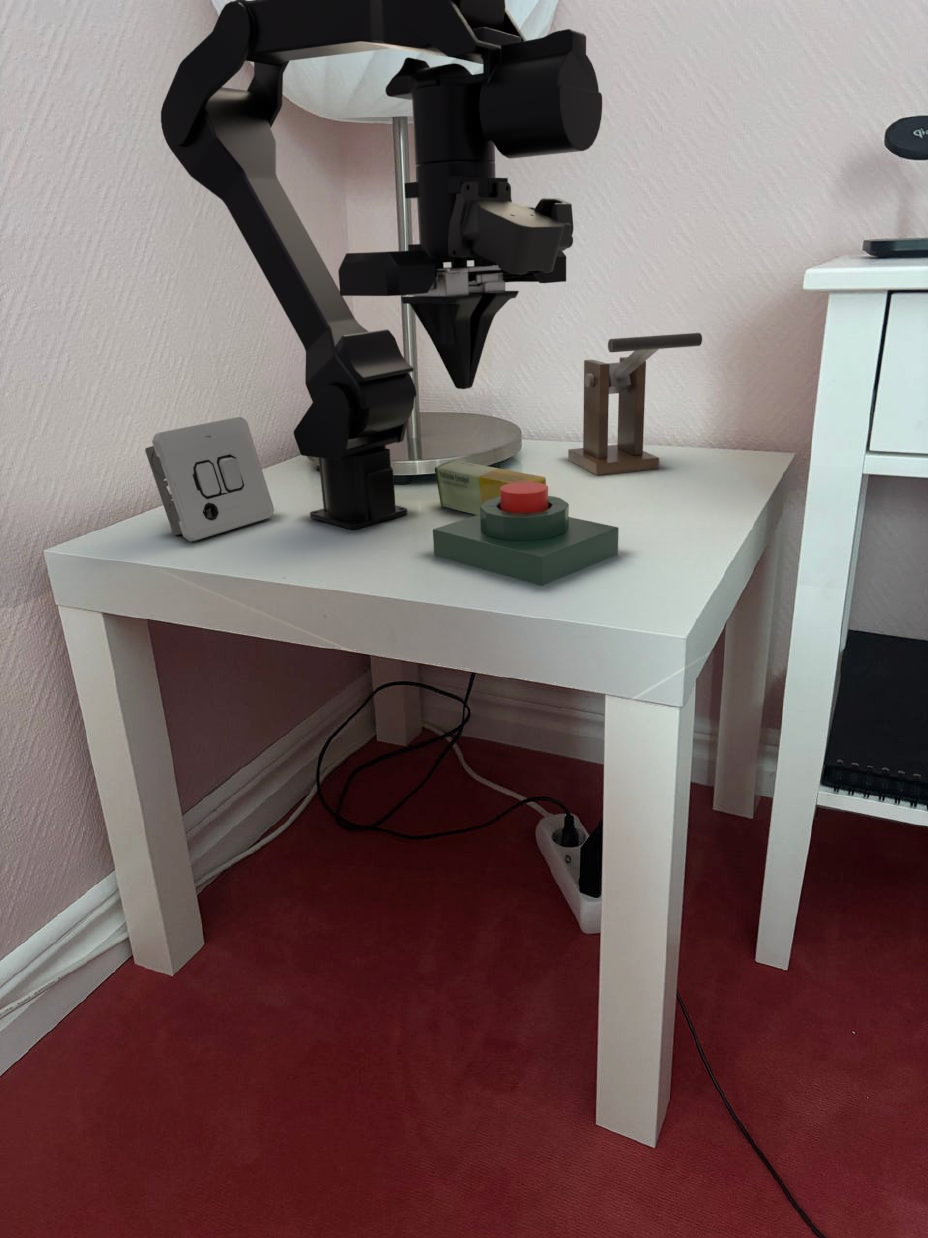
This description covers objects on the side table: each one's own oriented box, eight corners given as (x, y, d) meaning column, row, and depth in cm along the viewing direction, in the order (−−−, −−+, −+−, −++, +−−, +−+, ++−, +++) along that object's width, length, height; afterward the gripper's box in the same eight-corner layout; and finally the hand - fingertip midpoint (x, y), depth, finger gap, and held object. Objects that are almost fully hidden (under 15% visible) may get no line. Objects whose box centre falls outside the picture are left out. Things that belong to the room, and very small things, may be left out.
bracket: (659, 468, 94) (663, 362, 90) (596, 475, 93) (598, 366, 89) (626, 454, 102) (629, 354, 97) (568, 460, 100) (568, 358, 96)
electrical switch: (191, 545, 76) (166, 433, 73) (156, 541, 79) (132, 434, 76) (277, 518, 82) (258, 415, 80) (242, 516, 86) (223, 416, 83)
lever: (704, 349, 84) (700, 324, 85) (614, 356, 82) (610, 330, 82) (650, 390, 96) (646, 368, 96) (570, 397, 94) (567, 374, 94)
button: (490, 511, 68) (490, 488, 68) (522, 501, 71) (521, 479, 70) (526, 519, 66) (526, 496, 65) (558, 508, 68) (558, 486, 68)
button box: (433, 556, 71) (430, 506, 69) (511, 529, 76) (510, 482, 75) (541, 586, 63) (541, 531, 62) (618, 554, 69) (619, 503, 68)
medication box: (438, 508, 84) (431, 466, 82) (460, 499, 85) (454, 458, 84) (530, 530, 75) (525, 484, 73) (552, 520, 77) (548, 474, 75)
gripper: (438, 147, 53) (450, 415, 59) (625, 158, 65) (620, 380, 71) (323, 164, 61) (344, 401, 67) (510, 171, 73) (514, 371, 79)
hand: (463, 388), depth 71 cm, fingers closed
